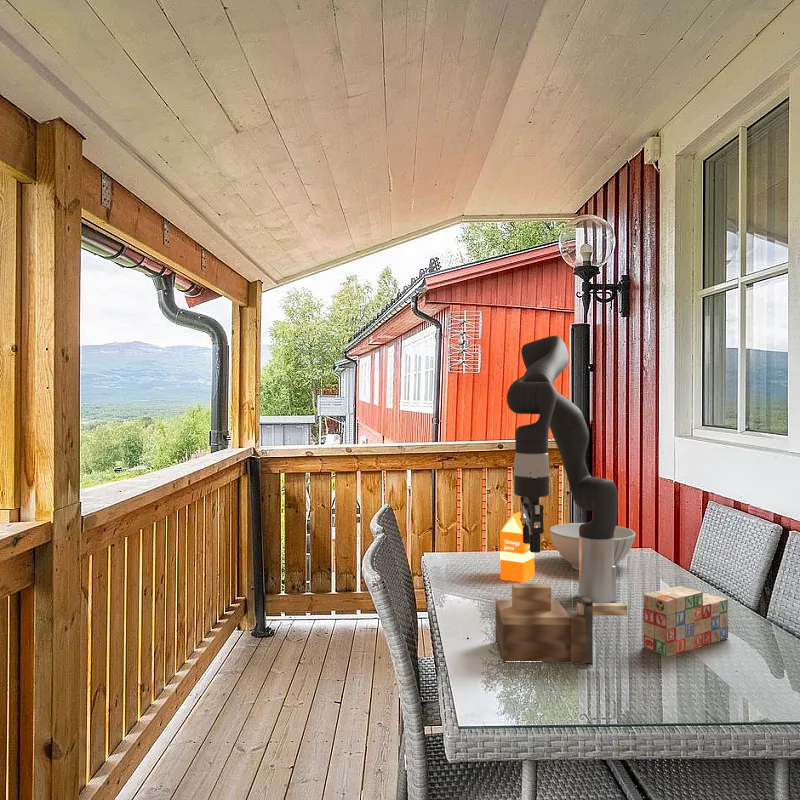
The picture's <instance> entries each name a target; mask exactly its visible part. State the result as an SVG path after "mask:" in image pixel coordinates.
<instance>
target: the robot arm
mask: <svg viewBox="0 0 800 800" xmlns="http://www.w3.org/2000/svg"><path fill="white" fill-rule="evenodd" d="M521 357H522V361H523V364H524V366H525V369H526V370H525V372H524V374H523V375H522V376H521V377H519V378H518V379H516V380H514V381H513V382H512V383H511V385H509V387H508V390H507V394H506V404H507V407H508V409H510V411H512V413H514V414H517V415H518V414H519V415H539V416H538V419H537V420H536V422H533V423H529V424H523V425H520V426H518V427H517V428H516V430H515V436H514V437H515V443H514V444H515V445H514V446H515V452H514V453H515V455H514V461H513V493H514V495H515V496H517V497H520V511H519V512H520V521H521V525H522V526H524V527H523V543H524V544H530V552H532V553H534V554H536V553H541V543H542V542H541V541H542V539H541V538H542V535H543V534H544V533H545V530H544V504H540V503H541V502H540V498H545V497H548V496H549V494H550V460H549V432H551V434H552V437H553V439H554V442H555V445H556V447H557V450H558V452H559V456H560V458H561V461H562V464H563V467H564V470H565V474H566V477H567V481H568V485H569V488H570V493H571V496H572V499H573V502H574V504H576V506H577V507H579V508H580V509H582V510H585V511H589V512H593V513H592V519H591V520H590V521H588V522H583V523H584V524H581V525H580V527H579V570H578V598H579V599H580V596H587V597H588V598H589V599H590V600H591V601H592V602H593V603H617V566H616V565H614V530H615V527H616V526H617V519H618V517H617V516H618V504H619V501H618V500H619V498H618V497H619V495H618V489H617V486H616V484H615V482H614V481H613V480H612V479H609V478H601V477H595V476H594V477H593V476H592V475H591V474H590V472H589V469H588V466H587V464H586V452H587V449H588V447H589V441H590V431H589V429H588V425H587V423H586V420H585V418H584V414H583V412H582V410H580V408H579V407H578V406H577V405H576V404H575V403H573V402H572V401H571V400H569V399H568V398H566V397H565V396H564V395H563V394H561V393H560V392H558V391H557V389H556V387H555V386H554V383H555V380H556V379H557V378H558V377H559V376H560V374H561V373H562V372H563V371H564V370H566V368H568V364H569V359H570V358H569V351H568V349H567V345H566V344H565V342H564V339H562V337H560V336H559V335H550V336H546V337H543V338H540V339H537V340H533V341H531V342H527V343H525V344H523V345H522V347H521ZM535 526H537V527H535Z"/></svg>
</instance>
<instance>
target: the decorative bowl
mask: <svg viewBox="0 0 800 800" xmlns="http://www.w3.org/2000/svg"><path fill="white" fill-rule="evenodd" d="M584 523H585V522H571V523H568V522H567V523H561V524H560V523H559V524H555V525H552V526H551V527H550V528H549V531H548V532H549V535H550V538H551V541H552V543H553V545H554V548H555V549H556V550H557V552H558V553H559V555H560V556H561V557H562V558H563V559H564V560H566V562H568V563H570V564H571V567H572V568H573V569H575V570H577V571H579V527H580V525H581V524H584ZM635 538H636V532H635V531H634V530H633V529H630V528H627V527H624V526H618V525H616V527H615V530H614V565H615V566H616V565H617V564H619V563H620V562H621V561H622V560H624V558H625V557H626V556H627V555H628V554H629V552H630V550H631V549H632V546H633V545H634V542H635Z"/></svg>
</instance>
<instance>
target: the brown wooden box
mask: <svg viewBox="0 0 800 800" xmlns="http://www.w3.org/2000/svg"><path fill="white" fill-rule="evenodd" d="M579 603H583V604H584V615H579V614H578V613H577V611H566V613H567V614H568V615H569V617H570V625H503V623H502V621H501V618H500V616H499V614H498V611H497V609H496V608H495V644H496V643H497V645H496V647H497V646H498V647H497V650H498V649H499V650H498V652H499V651H500V653H499V655H500V654H501V655H500V657H502V658H501V660H502V659H503V661H542V662H571V663H591V664H590V665H593V663H594V662H593V657H594V656H593V648H594V647H593V646H594V645H593V643H594V642H593V638H594V637H593V634H594V632H593V628H594V627H593V626H594V625H593V624H594V623H593V622H594V621H593V620H594V619H593V616H594V615H593V602H592V601H591V600H590V599H589V598H588V597H587V596H580V598H579ZM503 661H502V662H503ZM571 663H570V664H571Z"/></svg>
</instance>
